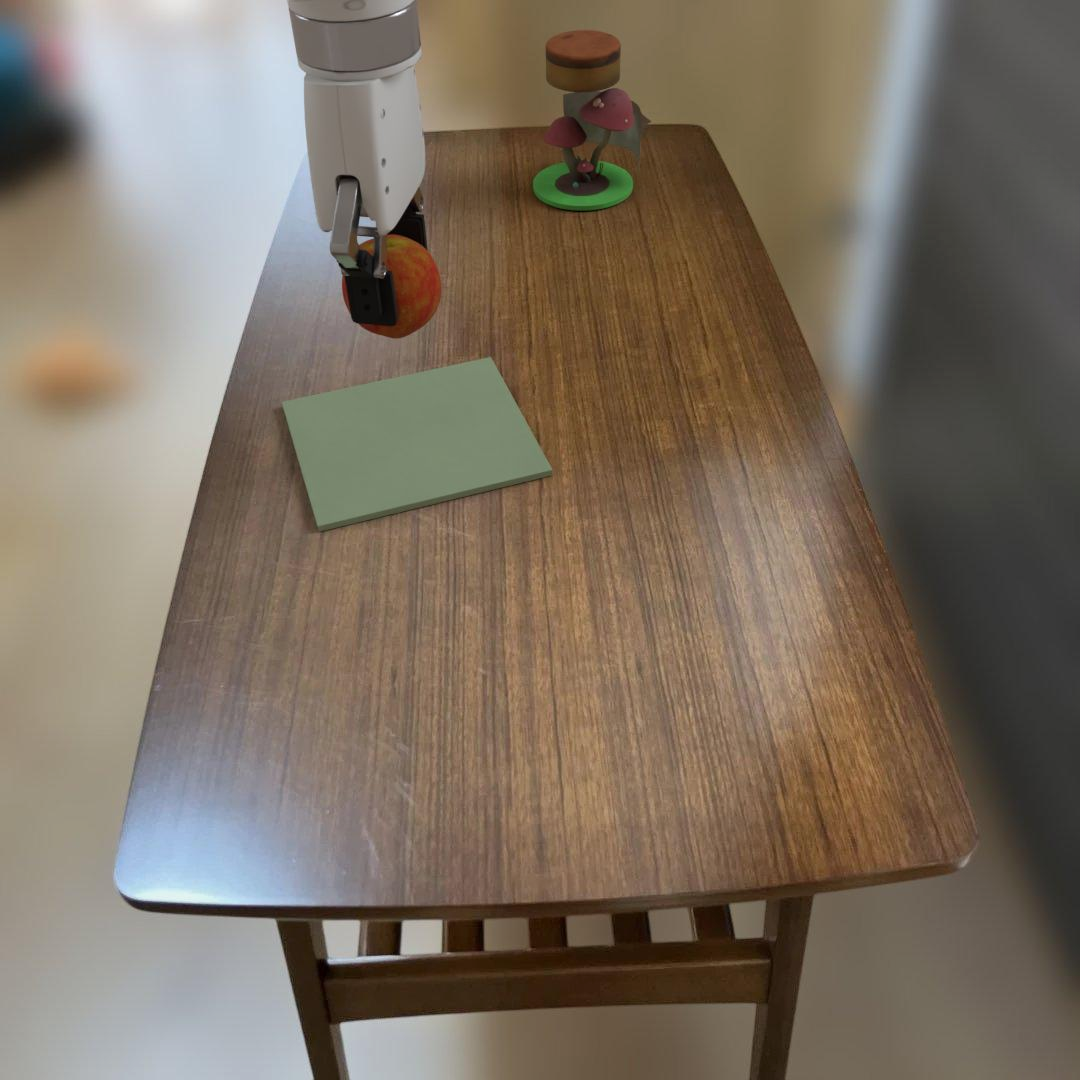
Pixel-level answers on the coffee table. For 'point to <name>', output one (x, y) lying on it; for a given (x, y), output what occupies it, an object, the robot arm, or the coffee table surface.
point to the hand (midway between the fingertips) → (391, 291)
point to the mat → (411, 442)
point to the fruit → (407, 285)
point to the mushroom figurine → (588, 122)
